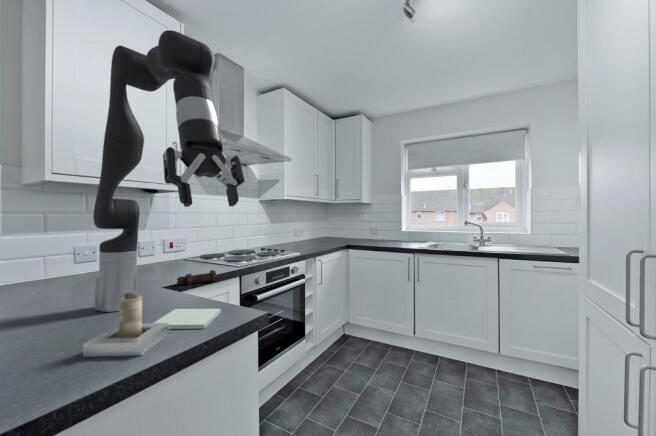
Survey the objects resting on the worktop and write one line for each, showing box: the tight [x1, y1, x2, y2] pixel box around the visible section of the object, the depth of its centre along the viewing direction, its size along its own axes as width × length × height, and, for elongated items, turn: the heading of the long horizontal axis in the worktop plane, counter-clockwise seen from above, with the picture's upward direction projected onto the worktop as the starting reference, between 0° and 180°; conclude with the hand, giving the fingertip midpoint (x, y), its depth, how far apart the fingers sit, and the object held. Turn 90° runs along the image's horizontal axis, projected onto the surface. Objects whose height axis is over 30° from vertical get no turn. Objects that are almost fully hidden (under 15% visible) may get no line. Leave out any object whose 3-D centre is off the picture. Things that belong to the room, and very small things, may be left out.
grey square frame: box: [82, 322, 170, 358], centre depth 61 cm, size 11×11×2 cm
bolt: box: [176, 269, 217, 286], centre depth 122 cm, size 6×5×15 cm
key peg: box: [118, 291, 143, 338], centre depth 61 cm, size 4×4×11 cm
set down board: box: [153, 308, 222, 330], centre depth 76 cm, size 13×13×1 cm
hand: (211, 205), depth 53 cm, fingers open, 8 cm apart
